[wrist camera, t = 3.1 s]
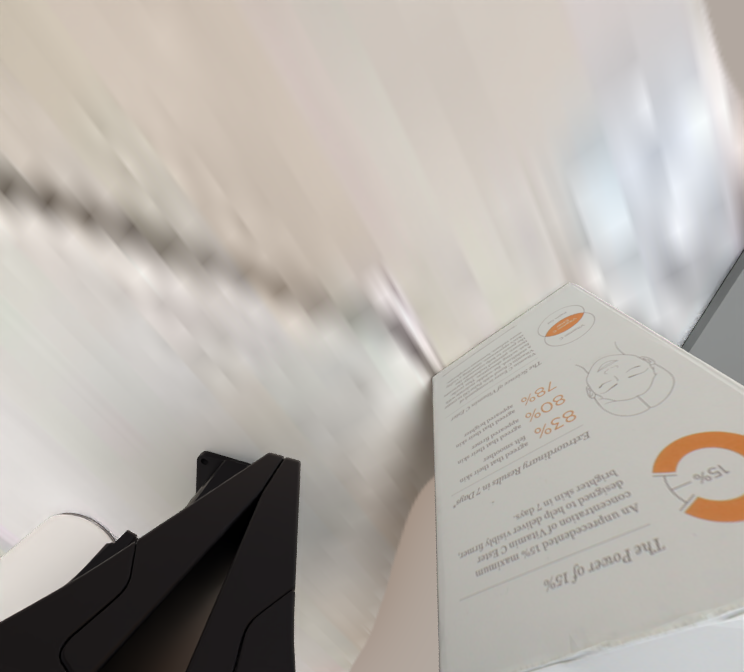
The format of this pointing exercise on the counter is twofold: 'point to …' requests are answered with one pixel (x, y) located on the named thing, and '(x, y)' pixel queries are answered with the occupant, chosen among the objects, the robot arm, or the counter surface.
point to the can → (48, 559)
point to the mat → (723, 328)
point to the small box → (588, 499)
